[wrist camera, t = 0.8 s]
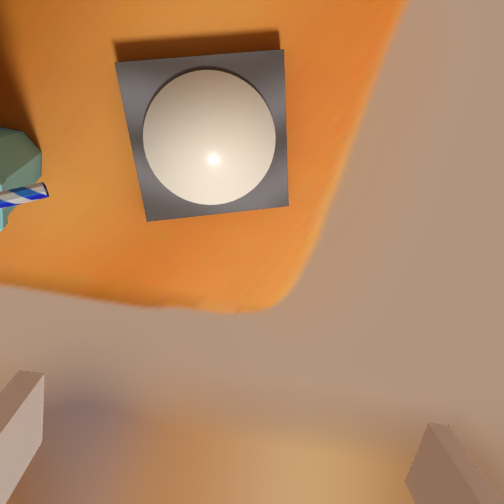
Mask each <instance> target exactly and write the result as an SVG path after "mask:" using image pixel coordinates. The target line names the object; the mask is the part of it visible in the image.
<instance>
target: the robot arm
mask: <svg viewBox="0 0 504 504" xmlns="http://www.w3.org/2000/svg"><path fill="white" fill-rule="evenodd" d="M43 400H44V373H36V372H29V371H21V370H19V372H18V373H17V374H16V375H15V376H14V378H13V379H12V380H11V381H10V382H9V383H8V384H7V386H6V387H5V388H4V389H3V390H2V392H1V393H0V504H6V502H7V500H8V499H9V497H10V495H11V493H12V492H13V490H14V489H15V487H16V485H17V483H18V482H19V480H20V478H21V477H22V475H23V473H24V471H25V470H26V468H27V466H28V465H29V463H30V461H31V459H32V458H33V456H34V454H35V453H36V451H37V449H38V448H39V446H40V444H41V442H42V426H43ZM405 483H406V485H407V487H408V490H409V491H410V494H411V496H412V498H413V500H414V502H415V504H504V503H503V502H502V500H501V499H500V497H499V496H498V494H497V493H496V491H495V490H494V489H493V487H492V486H491V484H490V483H489V482H488V480H487V479H486V477H485V476H484V474H483V473H482V472H481V470H480V469H479V467H478V466H477V465H476V463H475V462H474V460H473V459H472V457H471V456H470V455H469V453H468V452H467V450H466V449H465V448H464V446H463V445H462V443H461V442H460V441H459V439H458V438H457V436H456V435H455V433H454V432H453V431H452V429H451V428H450V427H449V425H443V424H435V423H428V425H427V428H426V430H425V433H424V435H423V438H422V440H421V443H420V445H419V447H418V450H417V452H416V455H415V457H414V460H413V462H412V465H411V467H410V470H409V472H408V475H407V477H406V479H405Z"/></svg>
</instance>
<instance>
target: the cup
mask: <svg viewBox="0 0 504 504" xmlns="http://www.w3.org/2000/svg"><path fill="white" fill-rule="evenodd" d="M41 171H42V152H41V151H40V150H39V149H38V148H37V147H36V145H35V144H34V143H33V142H32V141H31V140H30V139H29V138H28V136H27V135H26V134H25V133H24V132H23V131H18V130H13V129H8V128H3V127H0V231H1V230H3V229H4V227H5V226H6V224H7V223H8V219H7V216H8V215H9V214H10V213H11V211H12V210H13V209H14V208H15V207H16V205H18V204H22V203H26V202H30V201H34V200H38V199H42V198H46V197H49V194H48V191H47V188H46V186H45V184H44V183H43V182H42V183H37V184H35V183H36V181H37V180H38V179H39V178H40V177H41Z"/></svg>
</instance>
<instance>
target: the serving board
mask: <svg viewBox="0 0 504 504" xmlns="http://www.w3.org/2000/svg"><path fill="white" fill-rule="evenodd" d="M115 67H116V72H117V76H118V81H119V86H120V91H121V96H122V101H123V106H124V111H125V116H126V121H127V126H128V130H129V135H130V140H131V145H132V150H133V155H134V160H135V165H136V170H137V175H138V180H139V184H140V189H141V194H142V199H143V204H144V209H145V214H146V219H147V222H149V221H158V220H167V219H176V218H185V217H194V216H203V215H212V214H221V213H230V212H239V211H248V210H257V209H266V208H275V207H284V206H289V202H288V169H287V136H286V103H285V70H284V49H280V50H267V51H254V52H242V53H229V54H216V55H203V56H191V57H178V58H165V59H152V60H140V61H127V62H115Z"/></svg>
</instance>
